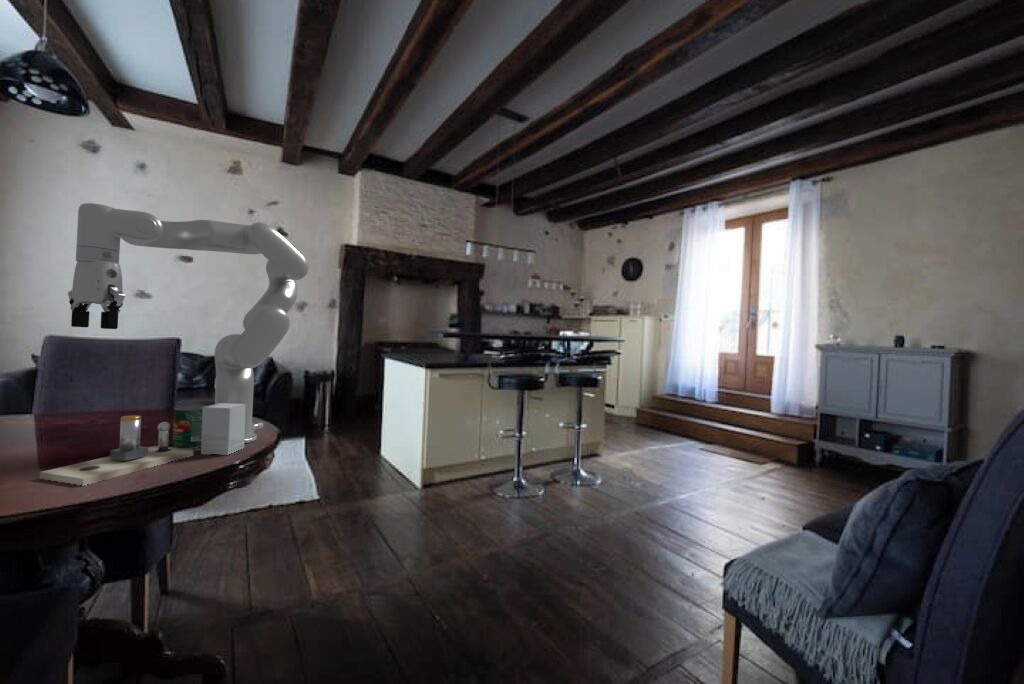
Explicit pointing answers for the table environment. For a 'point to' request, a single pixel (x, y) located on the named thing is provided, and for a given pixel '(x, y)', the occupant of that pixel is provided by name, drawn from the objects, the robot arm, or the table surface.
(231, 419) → the supplement box
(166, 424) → the fixed leg
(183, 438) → the canned tomato
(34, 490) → the table surface
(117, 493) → the table surface
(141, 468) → the hole plate
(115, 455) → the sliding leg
